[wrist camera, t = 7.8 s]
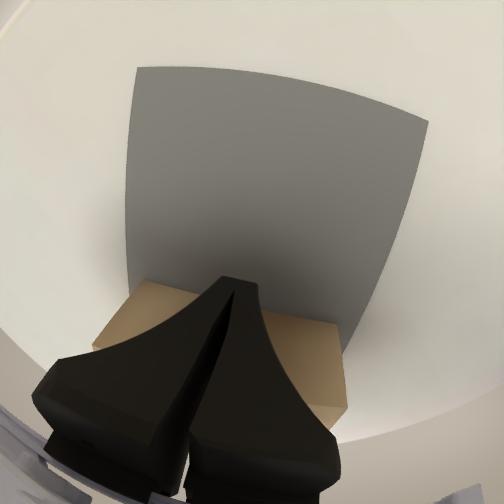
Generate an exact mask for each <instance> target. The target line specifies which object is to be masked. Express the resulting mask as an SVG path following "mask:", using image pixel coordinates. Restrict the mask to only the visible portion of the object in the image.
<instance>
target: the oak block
mask: <svg viewBox="0 0 504 504" xmlns="http://www.w3.org/2000/svg"><path fill="white" fill-rule="evenodd" d="M198 296H200V295H199V294H195V293H191V292H187V291H183V290H179V289H176V288H172V287H168V286H165V285H161V284H157V283H154V282H150V281H147V280H143V281H142V282H141V283H140V284H139V285H138V287H137V288H136V289H135V290H134V291H133V293H132V294H131V295H130V296H129V298H128V299H127V300H126V301H125V302H124V304H123V305H122V306H121V307H120V309H119V310H118V311H117V313H116V314H115V315H114V316H113V318H112V319H111V320H110V321H109V323H108V324H107V325H106V327H105V328H104V329H103V331H102V332H101V333H100V334H99V336H98V337H97V338H96V340H95V341H94V342H93V344H92V347H93V350H94V351H97V350H100V349H104V348H107V347H110V346H113V345H115V344H118V343H121V342H124V341H126V340H128V339H130V338H133V337H135V336H137V335H139V334H141V333H143V332H145V331H147V330H149V329H151V328H153V327H155V326H157V325H158V324H160V323H162V322H163V321H165V320H167V319H168V318H170V317H171V316H173V315H174V314H176V313H177V312H179V311H180V310H181V309H183V308H184V307H186V306H187V305H188V304H190V303H191V302H192V301H193V300H195V299H196V298H197V297H198ZM261 312H262V315H263V319H264V322H265V326H266V329H267V332H268V335H269V337H270V340H271V343H272V345H273V347H274V350H275V352H276V354H277V356H278V358H279V360H280V362H281V364H282V366H283V368H284V370H285V372H286V374H287V375H288V377H289V379H290V380H291V382H292V383H293V385H294V386H295V388H296V389H297V391H298V392H299V394H300V396H301V397H302V399H303V400H304V401H305V403H306V404H307V405H308V407H309V408H310V409H311V410H312V412H313V413H314V414H315V415H316V417H317V418H318V419H319V420H320V421H321V422H322V424H323V425H324V426H325V427H326V428H327V429H328V430H330V429H331V427H332V426H333V425H334V424H335V423H336V422H337V420H338V419H339V418H340V417H341V416H342V415H343V413H344V412H345V411H346V410H347V408H348V405H347V395H346V386H345V378H344V369H343V362H342V354H341V347H340V340H339V333H338V327H337V324H332V323H327V322H322V321H316V320H311V319H306V318H301V317H296V316H291V315H286V314H281V313H276V312H272V311H267V310H262V309H261Z"/></svg>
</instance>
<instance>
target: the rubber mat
mask: <svg viewBox="0 0 504 504" xmlns="http://www.w3.org/2000/svg"><path fill="white" fill-rule="evenodd" d="M427 126H428V121H427V120H425V119H422V118H420V117H418V116H415V115H413V114H410V113H408V112H405V111H403V110H400V109H398V108H395V107H392V106H390V105H387V104H384V103H381V102H378V101H375V100H373V99H369V98H366V97H363V96H360V95H357V94H354V93H350V92H347V91H343V90H340V89H336V88H332V87H328V86H324V85H320V84H316V83H311V82H307V81H302V80H298V79H292V78H287V77H282V76H276V75H270V74H263V73H256V72H249V71H240V70H231V69H219V68H204V67H137V72H136V78H135V85H134V92H133V99H132V107H131V115H130V124H129V135H128V148H127V164H126V192H125V225H126V254H127V270H128V283H129V294H130V295H131V294H132V293H133V291H134V290H135V289H136V288H137V287H138V285H139V284H140V283H141V282H142V281H143V280H147V281H150V282H154V283H157V284H161V285H165V286H168V287H172V288H176V289H179V290H183V291H187V292H191V293H195V294H199V295H201V294H202V293H203V292H204V291H205V290H207V289H208V288H209V287H210V286H211V285H212V284H213V283H214V282H215V281H216V280H217V279H218V278H219V277H221V276H228V277H232V278H236V279H241V280H245V281H250V282H254V283H257V285H258V295H259V302H260V307H261V309H262V310H267V311H272V312H276V313H281V314H286V315H291V316H296V317H301V318H306V319H311V320H316V321H322V322H327V323H332V324H337V327H338V333H339V340H340V347H341V354H343V352H344V350H345V348H346V346H347V344H348V343H349V341H350V339H351V337H352V335H353V333H354V331H355V329H356V327H357V325H358V323H359V321H360V319H361V317H362V315H363V313H364V311H365V308H366V306H367V304H368V302H369V300H370V298H371V296H372V293H373V291H374V289H375V287H376V284H377V282H378V280H379V277H380V275H381V273H382V270H383V268H384V265H385V263H386V260H387V258H388V255H389V253H390V250H391V248H392V245H393V242H394V240H395V237H396V234H397V231H398V229H399V226H400V223H401V220H402V217H403V214H404V211H405V208H406V205H407V202H408V199H409V196H410V192H411V189H412V186H413V182H414V179H415V175H416V172H417V168H418V164H419V160H420V156H421V152H422V148H423V144H424V140H425V135H426V131H427Z"/></svg>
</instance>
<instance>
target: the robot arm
mask: <svg viewBox="0 0 504 504" xmlns="http://www.w3.org/2000/svg"><path fill="white" fill-rule="evenodd" d="M31 396H32V399H33V403H34V405H35V407H36V408H37V410H38V411H39V412H40V414H41V415H42V416H43V417H44V419H45V420H46V421H47V423H48V424H49V425H50V426H51V427H52V429H53V430H54V431H53V432H52V434H51V436H50V438H49V439H48V440H47V439H45V438H44V437H42V436H41V435H40V434H38V433H36V432H35V431H34V430H32V429H31V428H30V427H28V426H27V425H26V424H24V423H23V422H22V421H20V420H19V419H18V418H16V417H15V416H14V415H13V414H12V413H10V412H9V411H8V410H7V409H6V408H4V407H3V406H2V405H1V404H0V504H91V501H92V497H91V496H89V495H87V494H86V493H84V492H82V491H81V490H79V489H78V488H76V487H75V486H73V485H72V484H70V483H69V482H68V481H67V480H65V479H63V478H62V477H60V476H58V475H57V474H56V473H54V472H53V471H51V470H50V469H48V465H47V463H46V462H48V463H49V464H51V465H52V466H54V467H55V468H57V469H59V470H60V471H62V472H64V473H65V474H67V475H68V476H70V477H72V478H73V479H75V480H77V481H79V482H81V483H82V484H84V485H86V486H88V487H90V488H92V489H94V490H96V491H98V492H100V493H102V494H104V495H106V496H108V497H110V498H112V499H115V500H117V501H119V502H121V503H124V504H319V494H320V492H322V491H324V490H325V489H327V488H329V487H330V486H332V485H333V484H335V483H336V482H337V481H338V480H339V479H340V475H341V463H340V456H339V450H338V446H337V441H336V437H335V436H334V435H333V434H332V433H331V432H330V431H329V430H328V429H327V428H326V427H325V426H324V425H323V424H322V422H321V421H320V420H319V419H318V418H317V417H316V415H315V414H314V413H313V412H312V410H311V409H310V408H309V407H308V405H307V404H306V403H305V401H304V400H303V399H302V397H301V396H300V394H299V392H298V391H297V389H296V388H295V386H294V385H293V383H292V382H291V380H290V379H289V377H288V375H287V374H286V372H285V370H284V368H283V366H282V364H281V362H280V360H279V358H278V356H277V354H276V352H275V350H274V347H273V345H272V343H271V340H270V337H269V335H268V332H267V329H266V326H265V322H264V319H263V315H262V312H261V307H260V302H259V295H258V285H257V283H254V282H250V281H245V280H241V279H236V278H232V277H228V276H221V277H219V278H218V279H217V280H216V281H215V282H214V283H213V284H212V285H211V286H210V287H209V288H208V289H207V290H205V291H204V292H203V293H202V294H201V295H200V296H198V297H197V298H196V299H195V300H193V301H192V302H191V303H190V304H188V305H187V306H186V307H184V308H183V309H181V310H180V311H179V312H177V313H176V314H174V315H173V316H171V317H170V318H168V319H167V320H165V321H163V322H162V323H160V324H158V325H157V326H155V327H153V328H151V329H149V330H147V331H145V332H143V333H141V334H139V335H137V336H135V337H133V338H130V339H128V340H126V341H124V342H121V343H118V344H115V345H113V346H110V347H107V348H104V349H100V350H97V351H94V352H90V353H86V354H82V355H77V356H73V357H68V358H63V359H58V360H57V361H56V362H55V364H54V365H53V366H52V367H51V368H50V369H49V371H48V372H47V373H46V375H45V376H44V378H43V379H42V380H41V382H40V383H39V385H38V386H37V387H36V389H35V391H34V392H33V394H32V395H31ZM188 453H189V463H190V464H189V468H188V471H187V474H186V478H185V481H184V484H183V488H185V491H186V497H187V499H186V502H183V501H179V500H176V499H173V498H170V497H172V496H174V495H176V494H178V491H179V487H180V483H181V479H182V476H183V472H184V468H185V464H186V460H187V456H188ZM430 504H484V501H483V495H482V490H481V484H479V483H478V484H476V485H473V486H470V487H468V488H465V489H462V490H460V491H457V492H455V493H452V494H450V495H449V496H446V497H444V498H443V499H441V500H440V501H437V502H434V503H430Z"/></svg>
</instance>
